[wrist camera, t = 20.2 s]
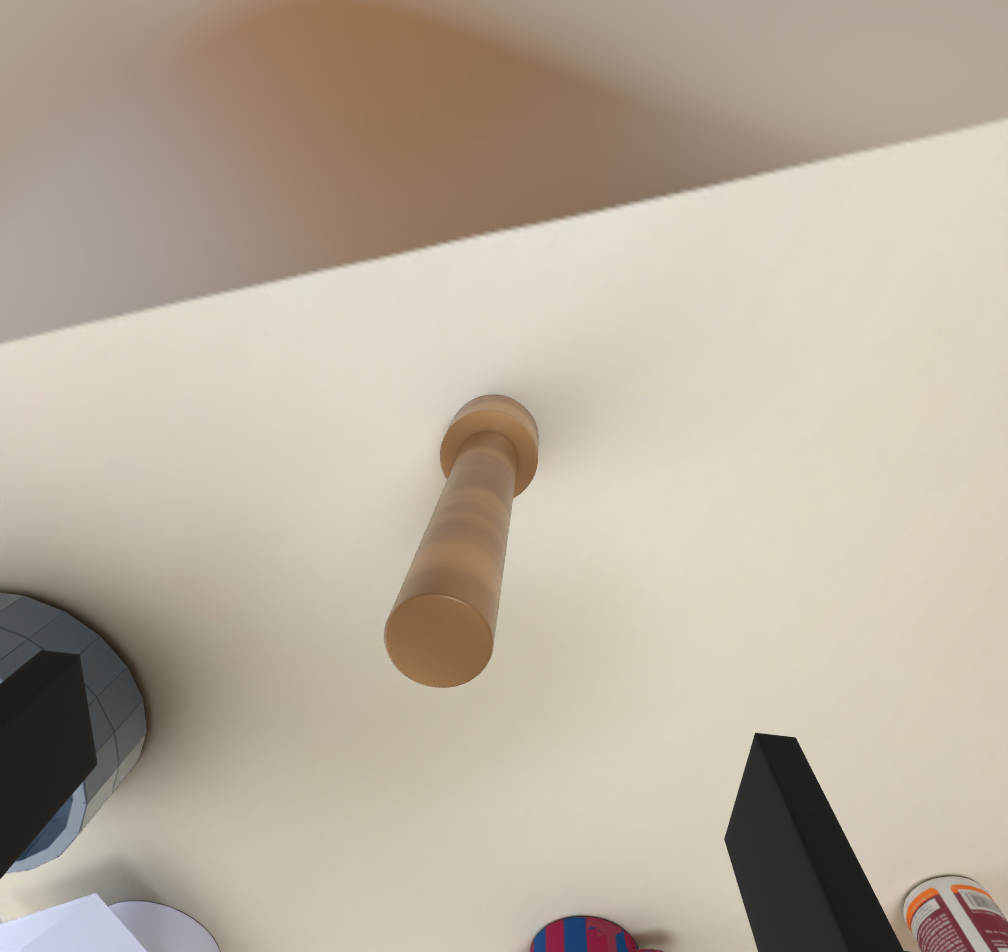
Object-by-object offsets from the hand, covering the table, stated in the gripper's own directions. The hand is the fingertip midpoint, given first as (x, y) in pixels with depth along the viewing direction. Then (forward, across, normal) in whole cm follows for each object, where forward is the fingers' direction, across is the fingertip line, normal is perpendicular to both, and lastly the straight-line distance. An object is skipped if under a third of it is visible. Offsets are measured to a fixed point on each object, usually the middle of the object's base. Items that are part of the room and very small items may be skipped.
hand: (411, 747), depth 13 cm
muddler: (+18, 0, +1) cm, 18 cm away
